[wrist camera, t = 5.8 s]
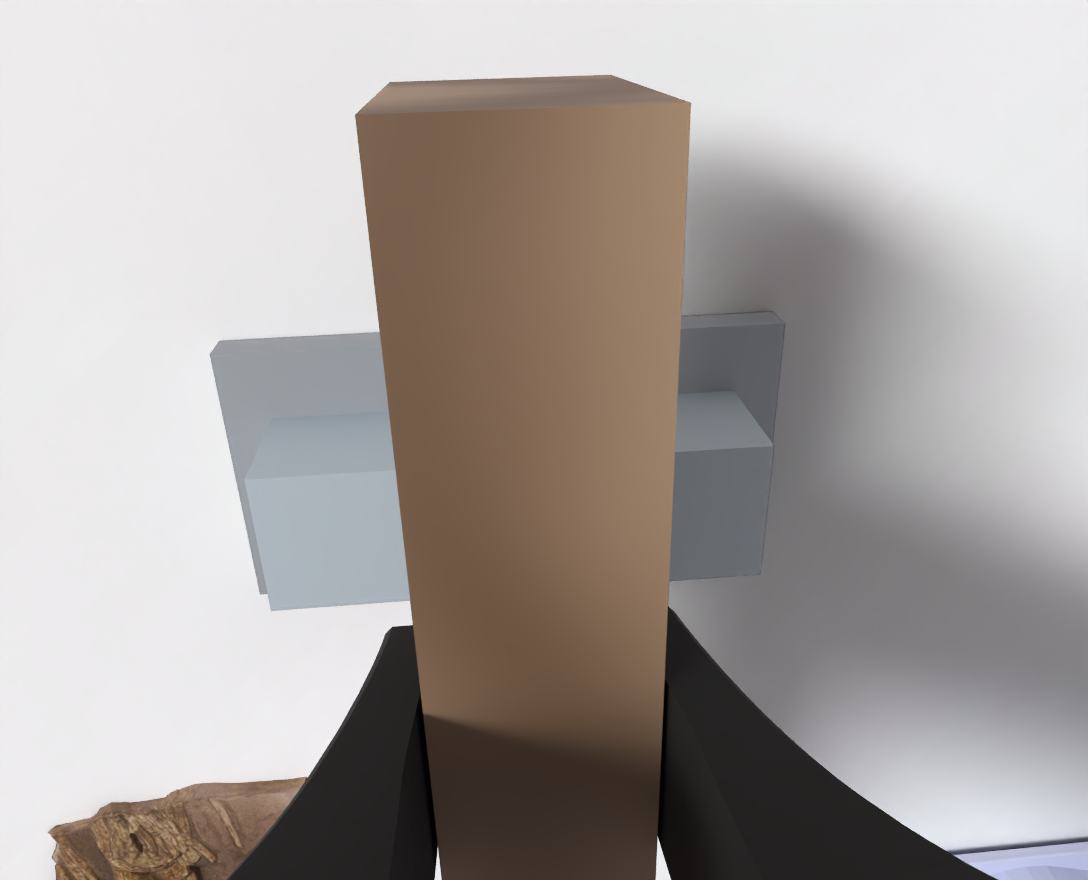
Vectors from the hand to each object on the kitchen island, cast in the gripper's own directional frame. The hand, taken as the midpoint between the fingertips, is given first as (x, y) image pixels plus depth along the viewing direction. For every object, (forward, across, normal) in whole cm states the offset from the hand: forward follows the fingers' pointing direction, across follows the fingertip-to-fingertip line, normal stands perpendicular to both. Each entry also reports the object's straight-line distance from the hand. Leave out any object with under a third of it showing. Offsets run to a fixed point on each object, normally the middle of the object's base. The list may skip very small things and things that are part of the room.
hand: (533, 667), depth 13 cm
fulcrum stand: (+8, 0, 0) cm, 8 cm away
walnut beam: (+2, 0, 0) cm, 2 cm away
